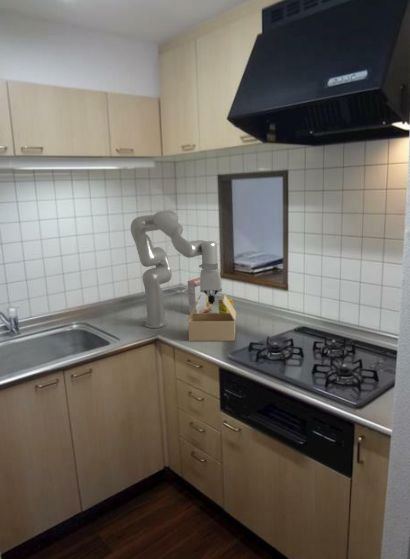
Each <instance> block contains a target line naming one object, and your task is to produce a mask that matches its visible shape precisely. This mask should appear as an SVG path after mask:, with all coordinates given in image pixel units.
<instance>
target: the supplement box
mask: <svg viewBox="0 0 410 559" xmlns="http://www.w3.org/2000/svg"><path fill="white" fill-rule="evenodd" d="M227 298H228V297H227ZM228 300H229V302H230V303H231V305H232V306H233V307H234V298H228ZM222 301H223V297H222V298H219V299H218V313H229V312H228V310H227V308H226V307H225V305H224V304H223V302H222Z"/></svg>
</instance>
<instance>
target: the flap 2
mask: <svg viewBox="0 0 410 559" xmlns="http://www.w3.org/2000/svg"><path fill="white" fill-rule="evenodd" d="M222 298H223V301H222V302H223V304H224V305H225V307H226V308H227V310H228V312H229V313H230V315H231V316H232V318H233V319H234V321H235V322H236V317H237V311H236V310H235V308H234V305H233V306H232V305H231V303H230V302H229V300H228V297H227V295H226V294H225V293H224V294H223V297H222Z"/></svg>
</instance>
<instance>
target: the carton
mask: <svg viewBox="0 0 410 559" xmlns="http://www.w3.org/2000/svg"><path fill="white" fill-rule="evenodd" d="M187 322H188V323H187V325H188V342H191V343H193V342H195V343H196V342H197V343H198V342H235V340H236V338H235V337H236V320H235V321H234V319H233V318H232V316H231V315H230V313H219V312H218V313H217V312H212V313H211V312H206V313H192V315H191V316H190V318H189V320H188V321H187Z"/></svg>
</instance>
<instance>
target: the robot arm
mask: <svg viewBox="0 0 410 559" xmlns="http://www.w3.org/2000/svg"><path fill="white" fill-rule="evenodd" d="M159 230H160V231H161V232H162V233H164V234H165V235H166V236H168V237H169V239H170V240H171V244H172V246H173V248H174V249H175V250H176V251H177V252H178V253H179V254H180V255H182V256H184V257H186V258H188V259H189V258H190V259H191V258H194V257H198V256H201V264H199V266H198V267H199V268H201V269H200V274H199V277H200V292H203V293H205V294H207V296H208V302H210V304H211V305H214V303H215V301H216V300H215V296H216V295H217V294H218V293H221V292H222V291H223V289H222V278H221V272H220V269H219V266H218V264H219V263H218V262H219V261H218V246H217V245H218V243H217V242H216V241H213V240H207V241H206V240H203V239H198V240H191V241H188V240H186V239H185V238H184V237H183V236H182V234H183V231H184V227H183V225H182V224H181V223H179V216H178V214H177V213H176V212H175V211H173V210H164V211H163V210H162V211H157V212H156V213H154V214H149V215H140V216H137V217H136V218H134V219H133V220H132V221H131V224H130V234H131V236H132V238H133V239H132V240H133V241H134V244H135V246H136V251H137V254H138V258H139V260H140V264H141V265H142V266H143V267H146V268H148V267H152V266H153V267H152V268H149V269H146V271H144V273H143V274H142V278H141V279H142V283H143V288H144V292H145V305H146V317H140V318H139V321H140V322H142V323H144V327H146V328H149V329H160V328H164V327H167V325H168V324H169V322H168V320H166V319H165V318H166V317H165V316H166V315H165V304H164V292H163V289H162V288H161V285H163V284H166V283H168V282H170V281H171V280H172V269H171V264H170V260H169V258H168V255H167V252H166V251H165V250H164V249H163V247H159V246H157V247H156V246H155V247H154V246H153V243H152V240H151V237H150V236H149V235H148V234H147V232H153V231H154V232H155V231H159ZM154 266H155V267H154ZM211 291H212V293H211Z"/></svg>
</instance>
